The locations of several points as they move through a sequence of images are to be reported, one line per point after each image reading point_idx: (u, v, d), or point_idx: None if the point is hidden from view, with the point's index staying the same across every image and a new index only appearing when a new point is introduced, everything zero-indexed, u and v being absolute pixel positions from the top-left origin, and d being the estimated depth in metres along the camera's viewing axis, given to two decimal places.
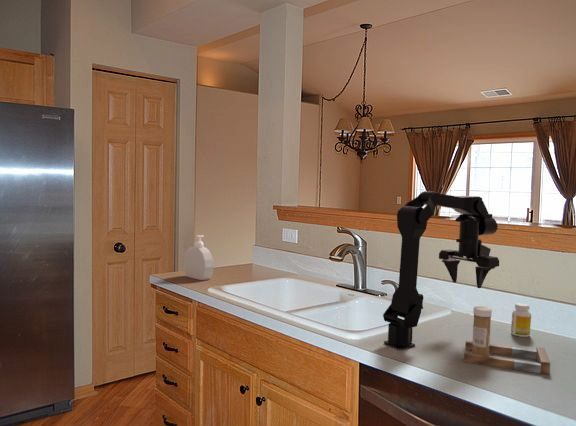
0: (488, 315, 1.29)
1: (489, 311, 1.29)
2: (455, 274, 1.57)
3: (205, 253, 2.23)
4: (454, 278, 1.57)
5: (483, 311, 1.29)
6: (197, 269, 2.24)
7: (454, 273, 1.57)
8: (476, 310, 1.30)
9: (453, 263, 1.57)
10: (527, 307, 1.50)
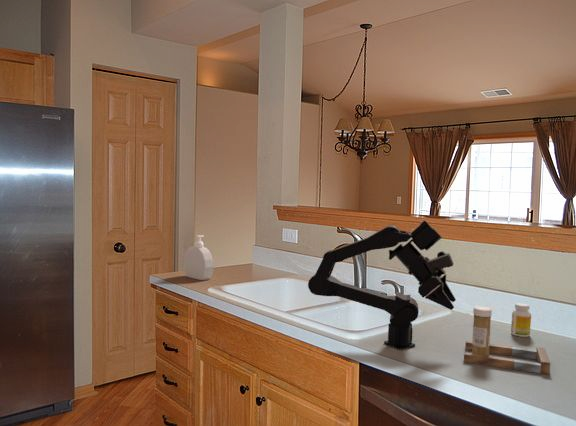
0: (488, 315, 1.29)
1: (489, 311, 1.29)
2: (448, 293, 1.39)
3: (205, 253, 2.23)
4: (449, 298, 1.38)
5: (483, 311, 1.29)
6: (197, 269, 2.24)
7: (446, 293, 1.39)
8: (476, 310, 1.30)
9: None
10: (527, 307, 1.50)
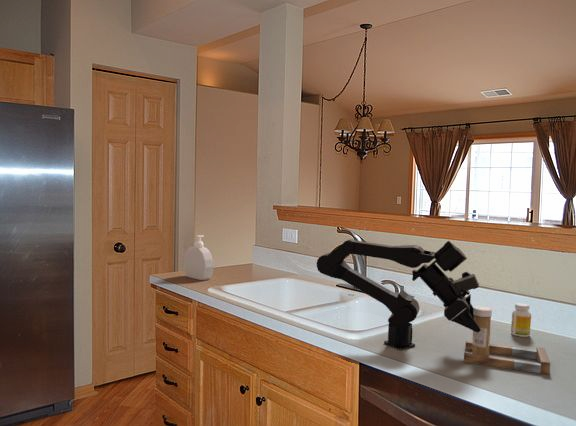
0: (488, 315, 1.29)
1: (489, 311, 1.29)
2: (473, 314, 1.36)
3: (205, 253, 2.23)
4: None
5: (483, 311, 1.29)
6: (197, 269, 2.24)
7: (471, 314, 1.36)
8: (476, 310, 1.30)
9: None
10: (527, 307, 1.50)
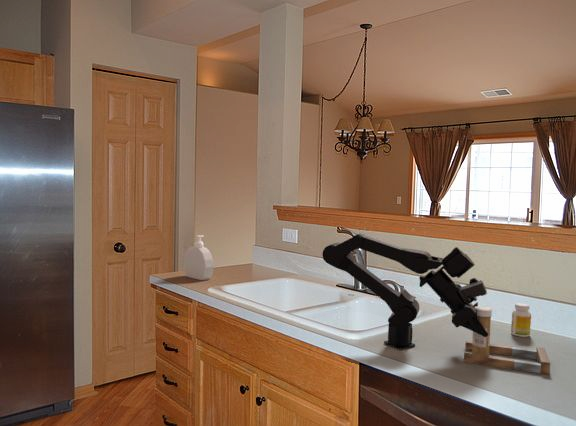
0: (488, 315, 1.29)
1: (489, 311, 1.29)
2: None
3: (205, 253, 2.23)
4: None
5: (483, 311, 1.29)
6: (197, 269, 2.24)
7: None
8: None
9: None
10: (527, 307, 1.50)
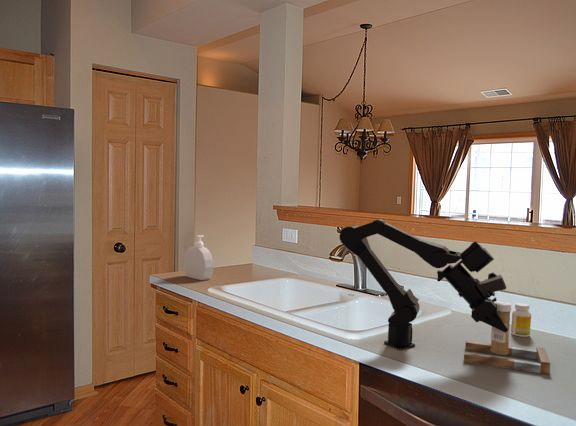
0: (508, 310, 1.27)
1: (509, 306, 1.27)
2: None
3: (205, 253, 2.23)
4: None
5: (503, 306, 1.27)
6: (197, 269, 2.24)
7: None
8: None
9: None
10: (527, 307, 1.50)
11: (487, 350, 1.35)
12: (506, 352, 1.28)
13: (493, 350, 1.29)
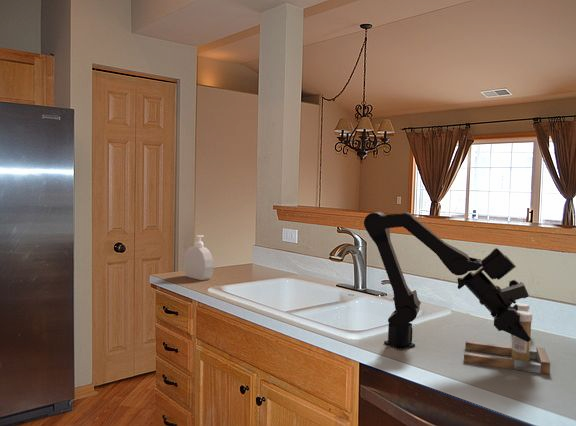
0: (529, 320, 1.25)
1: (530, 316, 1.25)
2: None
3: (205, 253, 2.23)
4: None
5: (524, 316, 1.25)
6: (197, 269, 2.24)
7: None
8: None
9: None
10: (527, 307, 1.50)
11: (487, 350, 1.35)
12: None
13: None
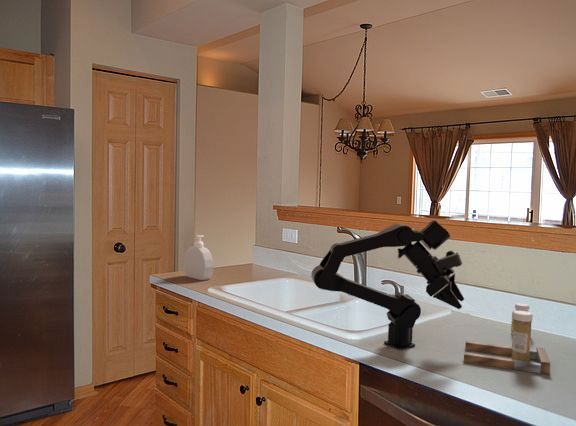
0: (529, 320, 1.25)
1: (530, 316, 1.25)
2: (456, 292, 1.39)
3: (205, 253, 2.23)
4: (458, 297, 1.39)
5: (524, 316, 1.25)
6: (197, 269, 2.24)
7: (454, 292, 1.39)
8: (516, 314, 1.26)
9: None
10: (527, 307, 1.50)
11: (487, 350, 1.35)
12: None
13: None
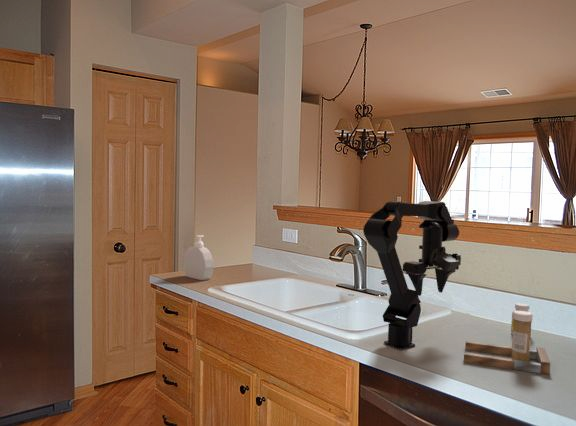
0: (529, 320, 1.25)
1: (530, 316, 1.25)
2: (440, 284, 1.50)
3: (205, 253, 2.23)
4: (439, 287, 1.51)
5: (524, 316, 1.25)
6: (197, 269, 2.24)
7: (439, 282, 1.51)
8: (516, 314, 1.26)
9: (440, 271, 1.51)
10: (527, 307, 1.50)
11: (487, 350, 1.35)
12: None
13: None
